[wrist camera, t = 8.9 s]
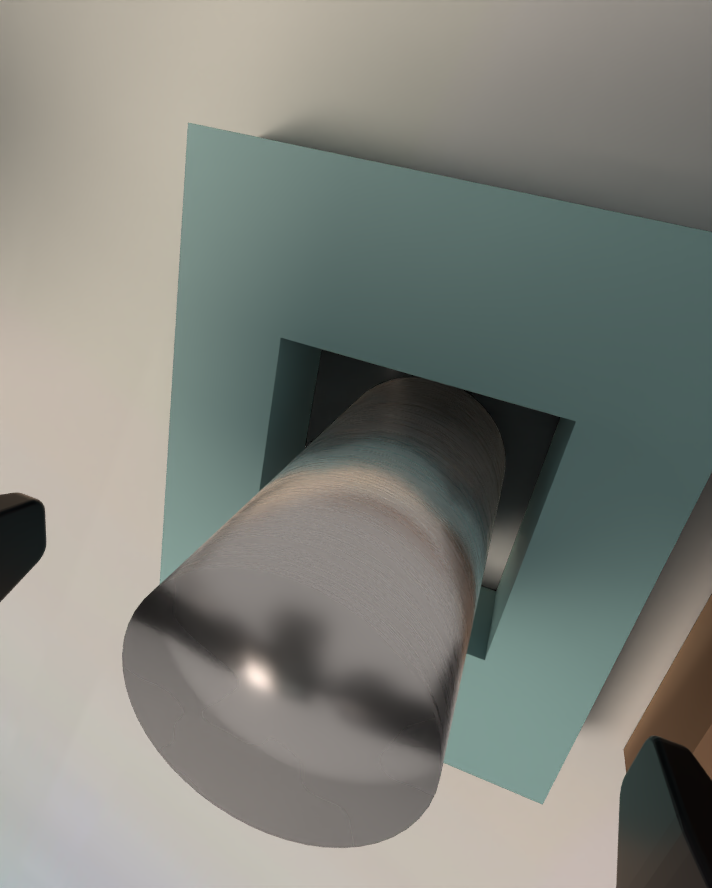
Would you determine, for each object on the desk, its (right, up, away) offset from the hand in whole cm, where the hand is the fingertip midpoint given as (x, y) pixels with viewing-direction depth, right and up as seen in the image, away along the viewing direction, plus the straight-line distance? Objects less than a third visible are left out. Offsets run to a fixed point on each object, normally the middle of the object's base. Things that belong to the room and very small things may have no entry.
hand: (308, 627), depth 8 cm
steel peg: (+2, +2, +6) cm, 6 cm away
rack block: (+2, +2, +6) cm, 6 cm away
